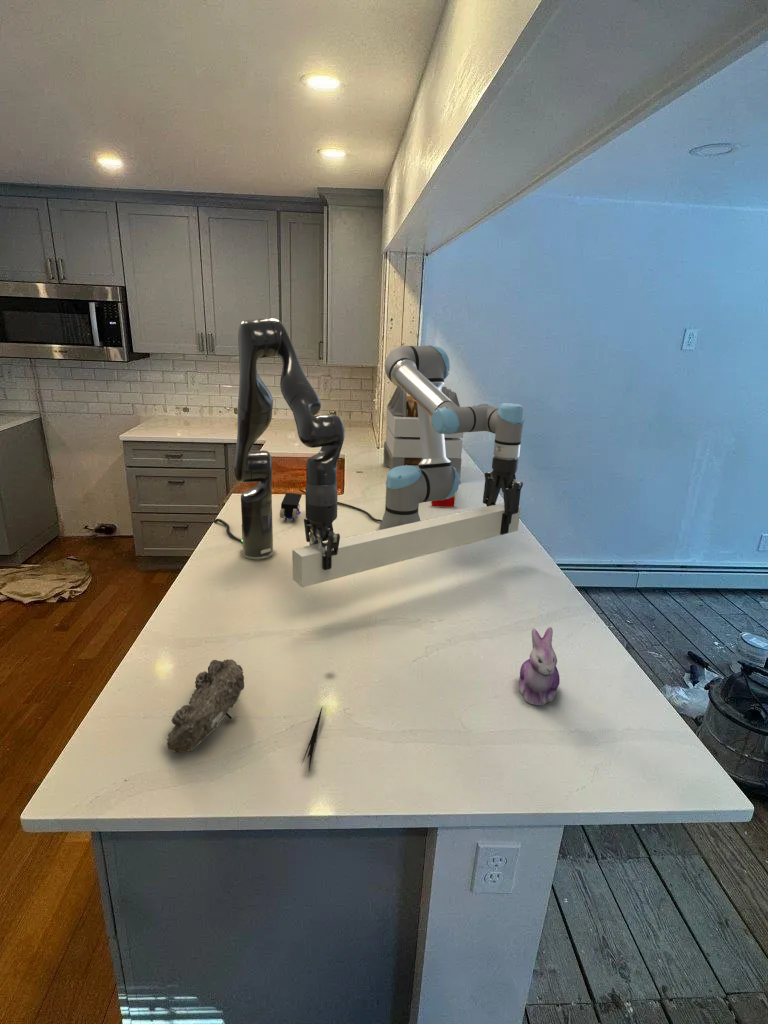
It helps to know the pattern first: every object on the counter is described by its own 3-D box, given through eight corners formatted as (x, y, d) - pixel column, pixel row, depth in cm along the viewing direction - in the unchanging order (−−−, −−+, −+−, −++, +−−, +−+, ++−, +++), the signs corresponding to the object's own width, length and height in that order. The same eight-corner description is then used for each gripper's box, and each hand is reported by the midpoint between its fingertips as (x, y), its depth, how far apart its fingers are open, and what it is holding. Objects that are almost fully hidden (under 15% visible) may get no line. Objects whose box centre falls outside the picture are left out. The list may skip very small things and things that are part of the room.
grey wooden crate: (382, 463, 289) (386, 382, 275) (445, 464, 293) (451, 384, 279) (390, 482, 257) (394, 392, 243) (460, 483, 261) (468, 394, 247)
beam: (506, 525, 181) (509, 501, 178) (517, 530, 177) (521, 506, 174) (292, 579, 139) (292, 549, 137) (302, 587, 136) (301, 556, 133)
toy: (449, 465, 254) (460, 474, 224) (447, 494, 256) (458, 508, 227) (422, 464, 253) (429, 474, 224) (421, 494, 256) (428, 507, 227)
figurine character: (298, 528, 204) (302, 509, 218) (297, 509, 201) (302, 491, 214) (279, 527, 204) (285, 509, 217) (278, 508, 201) (284, 491, 214)
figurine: (537, 713, 113) (548, 649, 108) (505, 684, 121) (513, 623, 116) (572, 701, 117) (584, 638, 112) (538, 673, 125) (548, 613, 120)
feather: (331, 679, 122) (336, 673, 122) (307, 777, 96) (313, 769, 95) (324, 675, 122) (329, 669, 121) (298, 772, 95) (304, 764, 95)
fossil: (192, 660, 117) (244, 628, 112) (224, 691, 120) (276, 661, 115) (142, 746, 98) (202, 712, 93) (182, 779, 101) (242, 748, 96)
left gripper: (293, 493, 137) (294, 557, 143) (322, 511, 127) (322, 579, 132) (320, 489, 142) (320, 551, 147) (350, 505, 131) (349, 572, 136)
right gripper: (475, 451, 172) (468, 523, 180) (520, 465, 158) (510, 542, 166) (492, 449, 176) (485, 519, 184) (538, 462, 162) (527, 537, 170)
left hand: (321, 564), depth 140 cm, fingers closed on beam, 5 cm apart
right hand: (497, 530), depth 175 cm, fingers closed on beam, 5 cm apart
